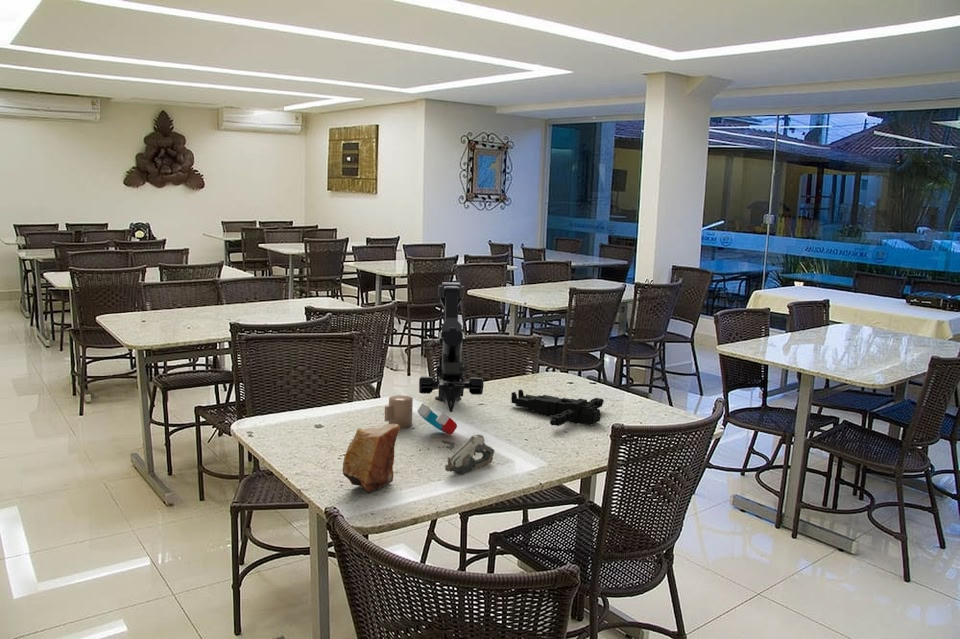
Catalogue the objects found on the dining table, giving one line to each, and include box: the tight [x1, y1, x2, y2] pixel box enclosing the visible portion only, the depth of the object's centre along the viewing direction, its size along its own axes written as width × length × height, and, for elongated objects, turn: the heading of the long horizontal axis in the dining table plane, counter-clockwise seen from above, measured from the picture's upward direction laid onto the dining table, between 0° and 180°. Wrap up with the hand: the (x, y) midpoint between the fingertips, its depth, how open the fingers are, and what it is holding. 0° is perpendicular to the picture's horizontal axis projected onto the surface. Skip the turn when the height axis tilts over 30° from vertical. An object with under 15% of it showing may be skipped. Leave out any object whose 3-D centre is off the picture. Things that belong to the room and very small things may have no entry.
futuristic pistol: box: [444, 433, 495, 475], centre depth 185 cm, size 2×15×10 cm, turn 134°
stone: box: [342, 423, 401, 493], centre depth 171 cm, size 14×9×15 cm, turn 130°
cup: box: [384, 394, 414, 429], centre depth 216 cm, size 7×9×8 cm
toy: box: [510, 389, 605, 427], centre depth 232 cm, size 31×6×30 cm
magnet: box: [416, 403, 458, 435], centre depth 209 cm, size 12×3×10 cm
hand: (450, 411), depth 210 cm, fingers closed
